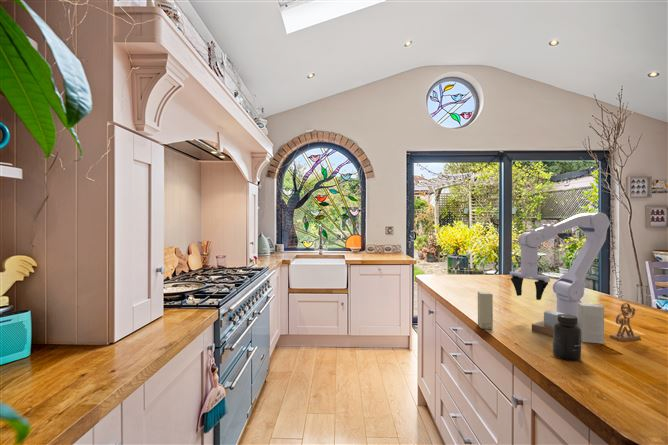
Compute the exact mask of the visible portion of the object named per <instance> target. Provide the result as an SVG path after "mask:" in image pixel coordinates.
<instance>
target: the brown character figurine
mask: <svg viewBox="0 0 668 445" xmlns="http://www.w3.org/2000/svg"><path fill="white" fill-rule="evenodd" d="M626 305H627V306H626ZM620 311H621V313H619V314H617V316H616V317H615V323H616V324H617V325H620V326H619V329H618V331H617V333H613V334H609V338H610V339H611V340H612V339H613V340H615V341H619V342H629V341H636V340H637V341H638V340H641V335H638V334H635V333H634V331H633V329H632V327H631V325H630V319H633V317H634V316H635V315H636V309H635V307H631V305H630V303H628V302H623V303H622V304H621V306H620ZM630 314H631V315H630ZM629 315H630V316H629ZM621 316H622V317H623V318H620V317H621ZM628 329H629V330H628Z"/></svg>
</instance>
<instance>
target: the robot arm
mask: <svg viewBox="0 0 668 445" xmlns="http://www.w3.org/2000/svg"><path fill="white" fill-rule="evenodd" d="M610 225H611V221H610V218H609V217H608V215H607V214H605V213H604V212H581V213H577V214H574V215H572V216H571V217H569V218H567V219H564V220H562V221H560V222H558V223H556V224H551V223H543V224H541V226H540V227H537V228H531V229H530V231H528V232H527V231H526V232H525V231H524V232H522V233H521V234H520V235H519V237H518V238H517V243H518V244H519V245H520V271H513V270H512V271H509V277H511V278H510V281H511V283H512V285H513V287H514V289H515V293H516V296H517V297H520V296H522V292H523V282H524V279H526V280H534V285H535V291H536V292H535V298H536V300H537V301H541V300H542V296H543V293H544V291H545V289H546V287H547V286H548V285H549V283H550V281H551V276H547V275H543V274H538V273H539V272H538V260H539V258H538V256H539V253H538V252H539V247H540V246H541V245H542V243H545V242H548V241H550V240H552V239H555V238H557V236H558V234H559V233H562V232H564V231H567V230H571V229H573V228H577V227H578V229H579V230H580V231H581V232H582V233H583V235H585V237H586V239H585V241H584V243H583V245H582V246H581V248H580V250H579V252H578V253H577V255H576V257H575V259H574V260H573V262H572V264H571V266H570V267H569V269H568V271H567V272H566V273H564V274H562V275H560V277H559V278H558V279H557V280H556V281H554V282H553V285H552V290H553V293H555V297H556V312H559V313H564V314H568V315H573V316H576V317H577V318H578V303H583V302H582V301H581V300H582V298H583V297H584V295H585V288H586V287H587V284H586V283H585V280H584V279H585V277H586V275H587V274H588V272H589V270H590V269H591V267H592V265H593V263H594V262H595V260H596V258H597V256H598V254H599V252H600V250H601V249H602V247H603V246H604V243H605V242H606V240H607V234H608V233H607V232H608V231H607V230H608V229H609V227H610Z"/></svg>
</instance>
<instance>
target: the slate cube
mask: <svg viewBox="0 0 668 445" xmlns="http://www.w3.org/2000/svg"><path fill="white" fill-rule="evenodd" d="M558 314H564V313H559V312H557V311H556V310H555V311H554V310H548V311H544V312H543V321H544V325H547V326H550V327H554V325H555V324H556V323H558V321H557V319H558Z"/></svg>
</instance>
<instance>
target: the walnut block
mask: <svg viewBox="0 0 668 445" xmlns="http://www.w3.org/2000/svg"><path fill="white" fill-rule="evenodd" d="M531 332H535V333H538V334H541V335H544V336H548V337H552V338H553V327H550V326H547V325H544V320H541V321H538V322H534V323H531Z"/></svg>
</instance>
